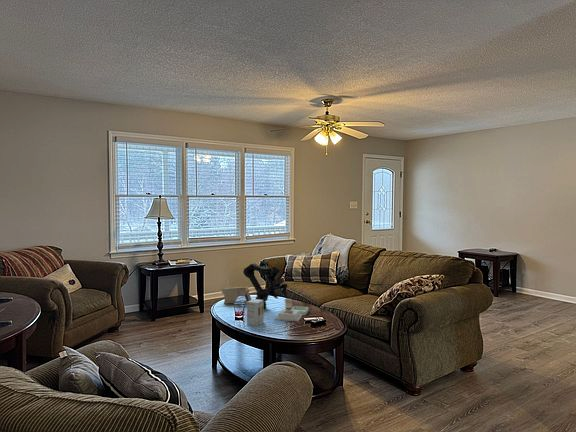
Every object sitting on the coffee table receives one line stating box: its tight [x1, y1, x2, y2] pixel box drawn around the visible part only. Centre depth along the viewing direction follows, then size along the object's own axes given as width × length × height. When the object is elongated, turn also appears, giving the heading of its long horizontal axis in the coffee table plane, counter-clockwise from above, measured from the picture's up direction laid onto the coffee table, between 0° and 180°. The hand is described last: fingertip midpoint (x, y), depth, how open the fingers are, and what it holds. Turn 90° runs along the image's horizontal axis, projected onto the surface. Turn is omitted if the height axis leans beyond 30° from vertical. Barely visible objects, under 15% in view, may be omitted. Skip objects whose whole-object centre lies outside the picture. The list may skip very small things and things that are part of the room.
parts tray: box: [292, 305, 309, 316], centre depth 313 cm, size 12×12×3 cm
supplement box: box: [246, 298, 265, 327], centre depth 286 cm, size 10×9×17 cm
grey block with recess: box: [274, 308, 303, 323], centre depth 299 cm, size 18×14×4 cm
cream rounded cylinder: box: [284, 298, 293, 313], centre depth 299 cm, size 5×5×13 cm
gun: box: [221, 286, 252, 305], centre depth 339 cm, size 24×3×15 cm, turn 84°
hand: (282, 297), depth 305 cm, fingers open, 9 cm apart
